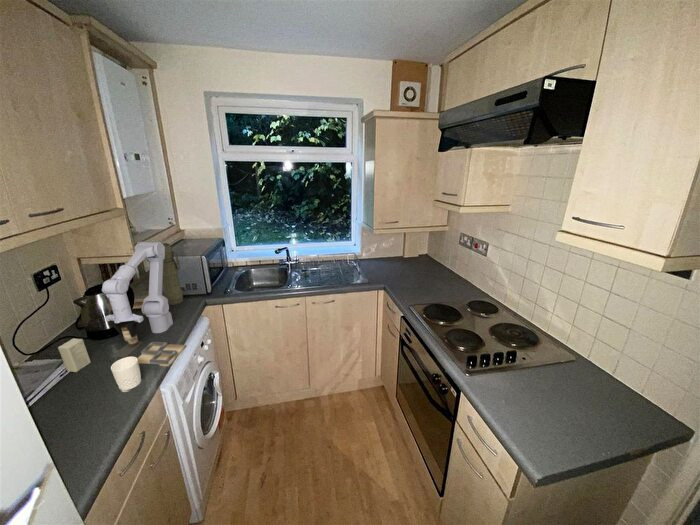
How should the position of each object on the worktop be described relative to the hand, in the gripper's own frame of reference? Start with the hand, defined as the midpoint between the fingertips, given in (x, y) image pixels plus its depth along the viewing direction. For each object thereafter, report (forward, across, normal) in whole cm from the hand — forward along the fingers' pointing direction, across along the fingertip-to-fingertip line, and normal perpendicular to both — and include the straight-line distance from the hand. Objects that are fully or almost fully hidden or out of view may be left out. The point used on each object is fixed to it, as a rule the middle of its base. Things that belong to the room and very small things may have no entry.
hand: (129, 335), depth 124 cm
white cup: (+10, +12, -18) cm, 23 cm away
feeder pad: (+9, -4, +2) cm, 11 cm away
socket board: (+9, +12, 0) cm, 15 cm away
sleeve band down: (+8, -4, +6) cm, 11 cm away
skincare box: (+10, -15, -10) cm, 21 cm away
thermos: (+10, -12, +48) cm, 50 cm away
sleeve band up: (+1, 0, 0) cm, 1 cm away
